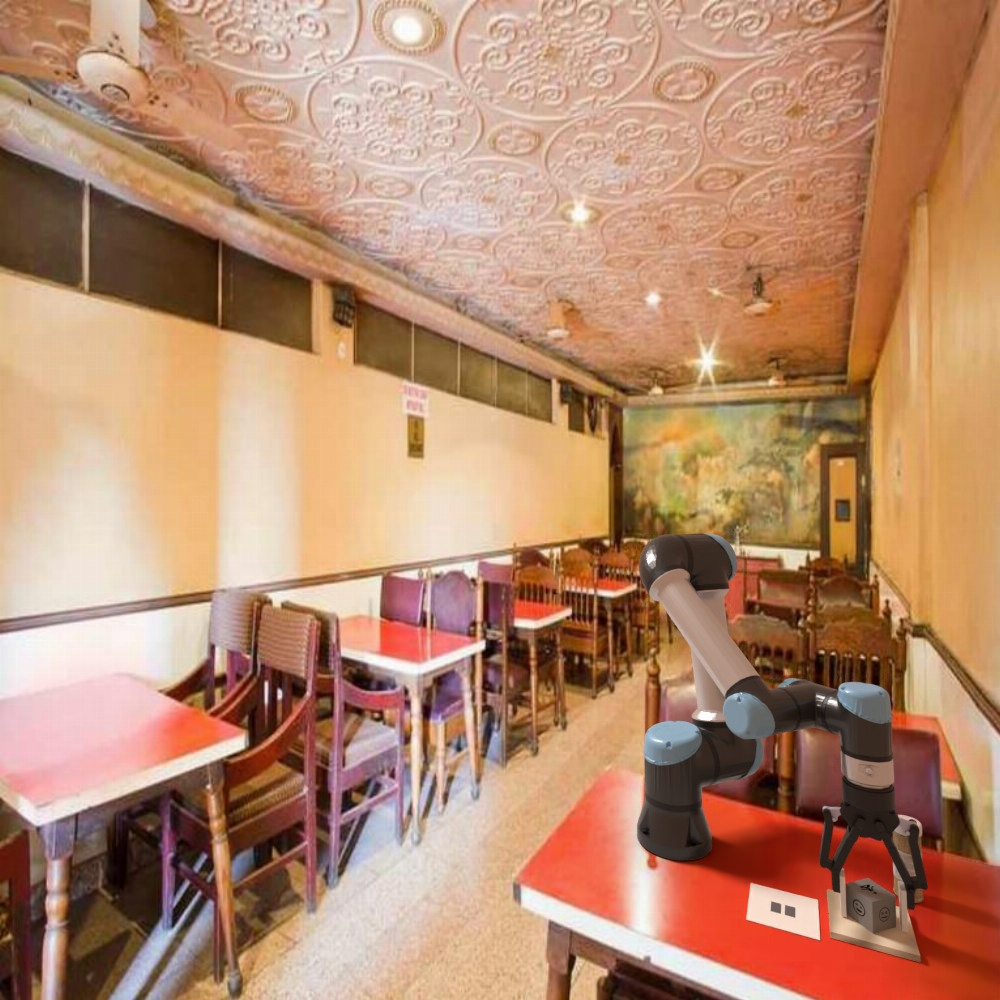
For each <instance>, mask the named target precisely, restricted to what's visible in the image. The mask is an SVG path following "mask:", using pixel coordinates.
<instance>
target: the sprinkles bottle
mask: <svg viewBox="0 0 1000 1000" xmlns="http://www.w3.org/2000/svg"><path fill="white" fill-rule="evenodd" d="M897 815H898V817H899V818H902V819H905V820H908V821H909V820H910V819H913V820H915V821H916V822H917V825H918V827H919V830H920V832H919V837H918V845H919V849H920V853H921V858H922V859H923V851H922V837H923V825H922V823H921V822H920V821H919V820H918V819H916V818H914V817H913V816H908V815H904V814H897ZM892 840H893V842H894V844H895V846H896V848H897V850H898V852H899V854H900V856H901V858H902V860H903V862H904V864H905V866H906V868H907V870H908V872H909V874H910V876H916V874H915V869H914V865H913V861H912V856H911V852H910V847H909V843H908V839H907V835H905V834H904V833H903V830H902V827H900V826H898V827H897V828H896V829H895V830H894V831H893V832H892ZM892 873H893V887H892V888H893V892H894V893H893V894H894V895H895V896H897V897H898V898H899V889H898V881H902V882H903V880H902V878H901V876H900V874H899V872H898V870H897V868H896V866H895V864H894V862H893V861H892ZM923 891H924V890H923V889H916V890H915V893H914V895H915V904H918V903H922V902H923V901H924V900H925V899H924V895H923Z"/></svg>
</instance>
